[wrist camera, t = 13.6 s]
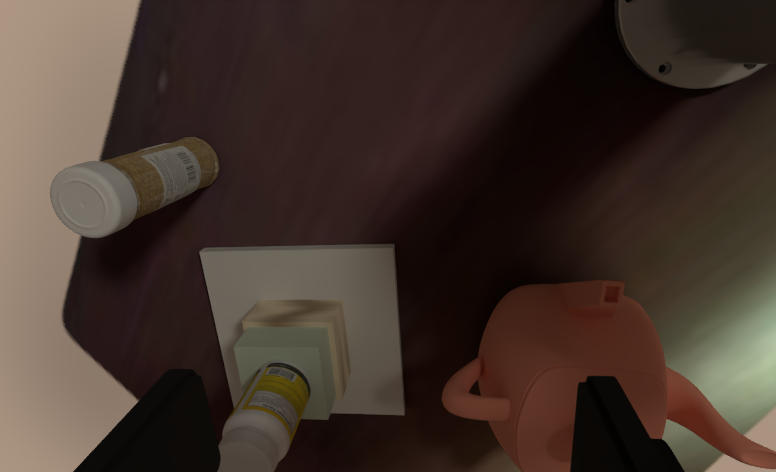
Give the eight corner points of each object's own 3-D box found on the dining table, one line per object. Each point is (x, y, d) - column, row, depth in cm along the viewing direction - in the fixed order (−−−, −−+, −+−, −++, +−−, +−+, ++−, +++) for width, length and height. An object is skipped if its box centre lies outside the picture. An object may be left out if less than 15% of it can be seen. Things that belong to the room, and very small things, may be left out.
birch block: (342, 299, 41) (332, 322, 37) (350, 372, 44) (342, 400, 40) (259, 300, 42) (241, 321, 39) (272, 371, 45) (257, 398, 41)
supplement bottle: (276, 413, 38) (231, 503, 30) (245, 370, 36) (190, 451, 29) (323, 395, 36) (290, 483, 29) (293, 350, 35) (250, 429, 27)
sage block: (327, 327, 38) (318, 347, 35) (336, 395, 40) (328, 419, 37) (248, 326, 39) (233, 346, 36) (261, 393, 41) (248, 417, 38)
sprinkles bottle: (168, 135, 39) (37, 165, 26) (218, 137, 38) (109, 167, 26) (176, 187, 40) (56, 238, 28) (224, 189, 40) (124, 241, 27)
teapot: (569, 219, 37) (634, 294, 25) (690, 349, 40) (803, 476, 28) (429, 330, 42) (423, 438, 30) (545, 438, 45) (584, 580, 33)
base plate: (394, 243, 40) (393, 247, 39) (405, 408, 46) (404, 415, 45) (204, 247, 42) (199, 251, 41) (238, 403, 48) (234, 410, 47)
